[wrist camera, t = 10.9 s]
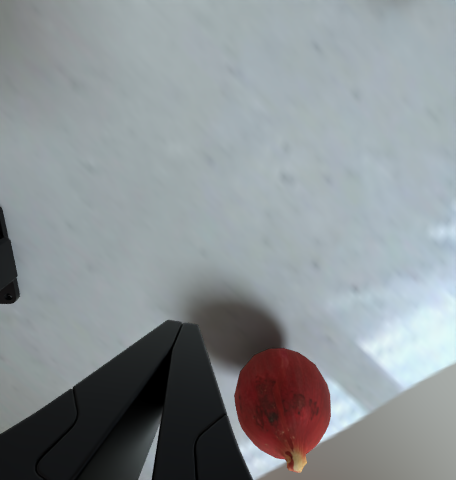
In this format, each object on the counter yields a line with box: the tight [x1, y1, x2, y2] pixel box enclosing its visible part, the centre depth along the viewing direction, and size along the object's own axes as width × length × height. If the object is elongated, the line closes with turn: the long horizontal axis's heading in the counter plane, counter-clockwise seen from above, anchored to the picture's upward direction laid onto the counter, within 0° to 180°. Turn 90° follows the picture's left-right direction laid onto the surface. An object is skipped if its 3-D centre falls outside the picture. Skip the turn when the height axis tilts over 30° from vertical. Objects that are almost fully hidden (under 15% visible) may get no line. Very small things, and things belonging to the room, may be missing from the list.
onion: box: [234, 348, 331, 472], centre depth 21 cm, size 6×6×8 cm
